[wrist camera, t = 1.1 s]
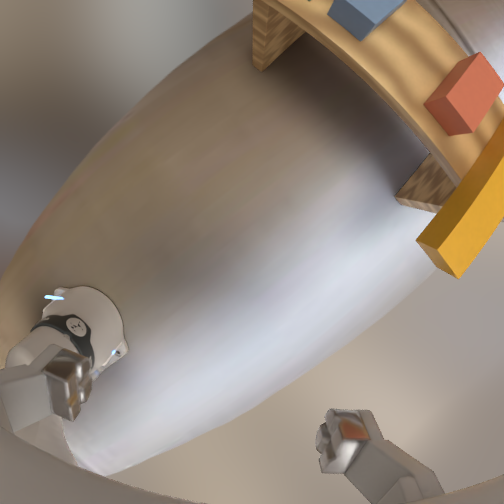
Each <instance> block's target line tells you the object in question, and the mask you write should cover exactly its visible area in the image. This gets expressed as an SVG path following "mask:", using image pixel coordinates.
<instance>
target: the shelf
mask: <svg viewBox="0 0 504 504" xmlns="http://www.w3.org/2000/svg"><path fill="white" fill-rule="evenodd" d="M333 1H334V0H311V1H310V2H309V1H308V0H253V60H252V65H253V66H254V67H256V68H257V69H258V70H260V71H261V72H262V71H263V70H265V69H266V68H267V67H268V66H269V65H270V64H271V63H272V62H273V61H274V60H275V59H276V58H277V57H278V56H279V55H280V54H281V53H282V52H284V51H285V50H286V49H287V48H288V47H289V46H290V45H291V44H292V43H293V42H295V41H296V40H297V39H298V38H299V37H300V36H301V35H302V34H304V33H305V32H307V33H309V34H310V35H311V36H313V37H314V38H315V39H316V40H318V41H319V42H320V43H321V44H323V45H324V46H325V47H326V48H328V49H329V50H330V51H331V52H332V53H334V54H335V55H336V56H337V57H338V58H339V59H341V60H342V61H343V62H344V63H345V64H346V65H347V66H349V67H350V68H351V69H352V70H353V71H354V72H355V73H356V74H357V75H358V76H360V77H361V78H362V79H363V80H364V81H365V82H366V83H367V84H368V85H369V86H370V87H371V88H372V89H373V90H374V91H375V92H376V93H377V94H378V95H379V96H380V97H381V98H382V99H383V100H384V101H385V102H386V103H387V104H388V105H389V106H390V107H391V108H392V109H393V110H394V111H395V112H396V114H397V115H398V116H399V117H400V118H401V119H402V120H403V121H404V122H405V123H406V125H407V126H408V127H409V128H410V129H411V130H412V131H413V132H414V134H415V135H416V136H417V137H418V138H419V140H420V141H421V142H422V143H423V144H424V146H425V147H426V148H427V149H428V150H429V152H430V154H429V155H428V156H427V158H426V159H425V160H424V161H423V163H422V164H421V165H420V166H419V168H418V169H417V170H416V171H415V172H414V174H413V175H412V176H411V177H410V179H409V180H408V181H407V182H406V183H405V185H404V186H403V187H402V188H401V189H400V191H399V192H398V193H397V194H396V195H395V196H394V197H395V198H396V200H397V201H398V202H399V203H400V204H401V205H404V206H408V207H412V208H417V209H421V210H425V211H429V212H433V213H438V212H439V210H440V209H441V208H442V207H443V205H444V204H445V203H446V201H447V200H448V199H449V197H450V196H451V195H452V193H453V192H454V191H455V189H456V188H457V187H458V185H459V184H460V183H461V181H462V180H463V178H464V177H465V176H466V174H467V173H468V171H469V170H470V169H471V167H472V166H473V164H474V163H475V161H476V160H477V158H478V157H479V156H480V154H481V153H482V151H483V150H484V148H485V147H486V145H487V143H488V142H489V140H490V139H491V137H492V136H493V134H494V133H495V131H496V129H497V128H498V126H499V125H500V123H501V121H502V120H503V118H504V104H503V103H502V101H501V100H500V98H499V97H498V96H497V98H496V100H495V101H494V103H493V104H492V106H491V107H490V109H489V110H488V112H487V113H486V115H485V116H484V118H483V119H482V121H481V122H480V124H479V125H478V127H477V128H476V130H475V131H474V133H469V134H461V135H453V136H449V135H448V134H447V133H446V132H445V130H444V129H443V128H442V126H441V125H440V124H439V123H438V121H437V120H436V119H435V118H434V117H433V115H432V114H431V113H430V112H429V111H428V109H427V108H426V107H425V106H424V105H423V104H424V103H425V102H426V100H427V99H428V98H429V97H430V96H431V94H432V93H433V92H434V91H435V90H436V88H437V87H438V86H439V85H440V84H441V82H442V81H443V80H444V79H445V77H446V76H447V75H448V74H449V73H450V71H451V70H452V69H453V68H454V66H455V65H456V64H457V63H458V62H459V61H461V60H463V59H465V58H467V57H468V55H467V54H466V53H465V52H464V51H463V50H462V48H461V47H460V46H459V45H458V44H457V43H456V41H455V40H454V39H453V38H452V37H451V36H450V35H449V34H448V33H447V32H446V31H445V29H444V28H443V27H442V26H441V25H440V24H439V23H438V22H437V21H436V20H435V19H434V18H433V17H432V16H431V15H430V14H429V13H428V12H427V11H426V10H425V9H424V8H422V7H421V6H420V5H419V4H418V3H417V2H416V1H415V0H407V1H406V2H405V3H404V4H403V5H402V6H401V7H400V8H398V9H397V10H396V11H395V12H394V13H393V14H391V15H390V16H389V17H388V18H387V19H386V20H385V21H383V22H382V23H381V24H380V25H379V26H378V27H377V28H376V29H374V30H373V31H372V32H371V33H370V34H369V35H368V36H367V37H366V38H365V39H363V40H362V41H359V40H358V39H357V38H356V37H355V36H353V35H352V34H351V33H350V32H349V31H347V30H346V29H345V28H344V27H342V26H341V25H340V24H339V23H337V22H336V21H335V20H334V19H332V18H331V17H330V16H328V15H327V13H328V11H329V9H330V7H331V5H332V3H333Z"/></svg>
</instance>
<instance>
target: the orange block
mask: <svg viewBox="0 0 504 504" xmlns="http://www.w3.org/2000/svg"><path fill="white" fill-rule="evenodd" d="M503 217H504V118H503V120H502V121H501V123H500V125H499V126H498V128H497V129H496V131H495V133H494V134H493V136H492V137H491V139H490V140H489V142H488V143H487V145H486V147H485V148H484V150H483V151H482V153H481V154H480V156H479V157H478V158H477V160H476V161H475V163H474V164H473V166H472V167H471V169H470V170H469V171H468V173H467V174H466V176H465V177H464V178H463V180H462V181H461V183H460V184H459V185H458V187H457V188H456V189H455V191H454V192H453V193H452V195H451V196H450V197H449V199H448V200H447V201H446V203H445V204H444V205H443V207H442V208H441V209H440V210H439V212H438V213H437V214H436V216H435V217H434V218H433V219H432V221H431V222H430V223H429V224H428V226H427V227H426V228H425V229H424V231H423V232H422V233H421V234H420V235H419V237H418V238H417V239H416V242H417V243H418V244H419V245H420V247H421V248H422V249H423V250H424V251H425V253H426V254H427V255H428V256H429V258H430V259H431V260H432V262H433V263H434V264H435V265H436V267H438V268H439V269H441V270H443V271H445V272H447V273H448V274H450V275H452V276H454V277H455V278H457V279H459V278H460V277H461V276H462V274H463V273H464V272H465V271H466V269H467V268H468V267H469V265H470V264H471V263H472V261H473V260H474V259H475V257H476V256H477V255H478V253H479V252H480V251H481V249H482V248H483V246H484V245H485V243H486V242H487V241H488V239H489V238H490V236H491V235H492V234H493V232H494V231H495V229H496V228H497V226H498V224H499V223H500V222H501V220H502V218H503Z"/></svg>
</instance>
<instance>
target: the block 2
mask: <svg viewBox="0 0 504 504" xmlns="http://www.w3.org/2000/svg"><path fill="white" fill-rule="evenodd" d="M503 87H504V83H503V82H502V80H501V79H500V77H499V76H498V74H497V73H496V72H495V70H494V69H493V68H492V66H491V65H490V64H489V62H488V61H487V60H486V58H485V57H484V56H483V54H482V53H481V52H478V53H476V54H474V55H472V56H469V57H467V58H465V59H463V60H461V61H459V62H458V63H457V64H456V65H455V66H454V68H453V69H452V70H451V71H450V73H449V74H448V75H447V76H446V77H445V79H444V80H443V81H442V82H441V84H440V85H439V86H438V87H437V88H436V90H435V91H434V92H433V93H432V94H431V96H430V97H429V98H428V99H427V100H426V102H425V103H424V104H423V105H424V106H425V107H426V108H427V109H428V111H429V112H430V113H431V114H432V115H433V117H434V118H435V119H436V120H437V121H438V123H439V124H440V125H441V126H442V128H443V129H444V130H445V132H446V133H447V134H448V135H449V136H453V135H461V134H469V133H474V131H475V130H476V128H477V127H478V125H479V124H480V122H481V121H482V119H483V118H484V116H485V115H486V113H487V112H488V110H489V109H490V107H491V106H492V104H493V103H494V101H495V100H496V98H497V96H498V95H499V93H500V92H501V90H502V88H503Z"/></svg>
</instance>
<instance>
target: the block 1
mask: <svg viewBox="0 0 504 504" xmlns="http://www.w3.org/2000/svg"><path fill="white" fill-rule="evenodd" d="M406 1H407V0H334V1H333V3H332V5H331V7H330V9H329V11H328V13H327V15H328V16H330V17H331V18H332V19H334V20H335V21H336V22H337V23H339V24H340V25H341V26H342V27H344V28H345V29H346V30H347V31H349V32H350V33H351V34H352V35H353V36H355V37H356V38H357V39H358V40H359V41H362V40H363V39H365V38H366V37H367V36H368V35H369V34H370V33H371V32H372V31H373V30H374V29H376V28H377V27H378V26H379V25H380V24H381V23H382V22H383V21H385V20H386V19H387V18H388V17H389V16H390V15H391V14H393V13H394V12H395V11H396V10H397V9H398V8H400V7H401V6H402V5H403V4H404V3H405V2H406Z"/></svg>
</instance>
